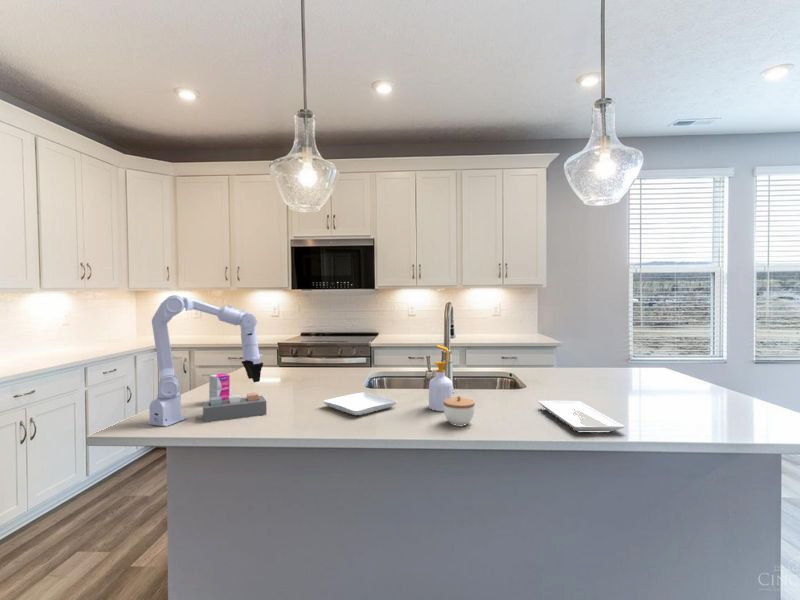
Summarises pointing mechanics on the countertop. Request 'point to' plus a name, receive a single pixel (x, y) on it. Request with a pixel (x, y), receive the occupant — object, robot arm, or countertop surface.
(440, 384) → the soap bottle
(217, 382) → the supplement box
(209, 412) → the grey socket block
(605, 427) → the tray
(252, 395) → the terracotta key
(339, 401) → the salad plate
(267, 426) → the countertop surface
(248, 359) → the robot arm
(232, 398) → the white key
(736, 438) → the countertop surface
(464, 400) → the lidded jar
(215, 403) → the slate key
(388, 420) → the countertop surface
